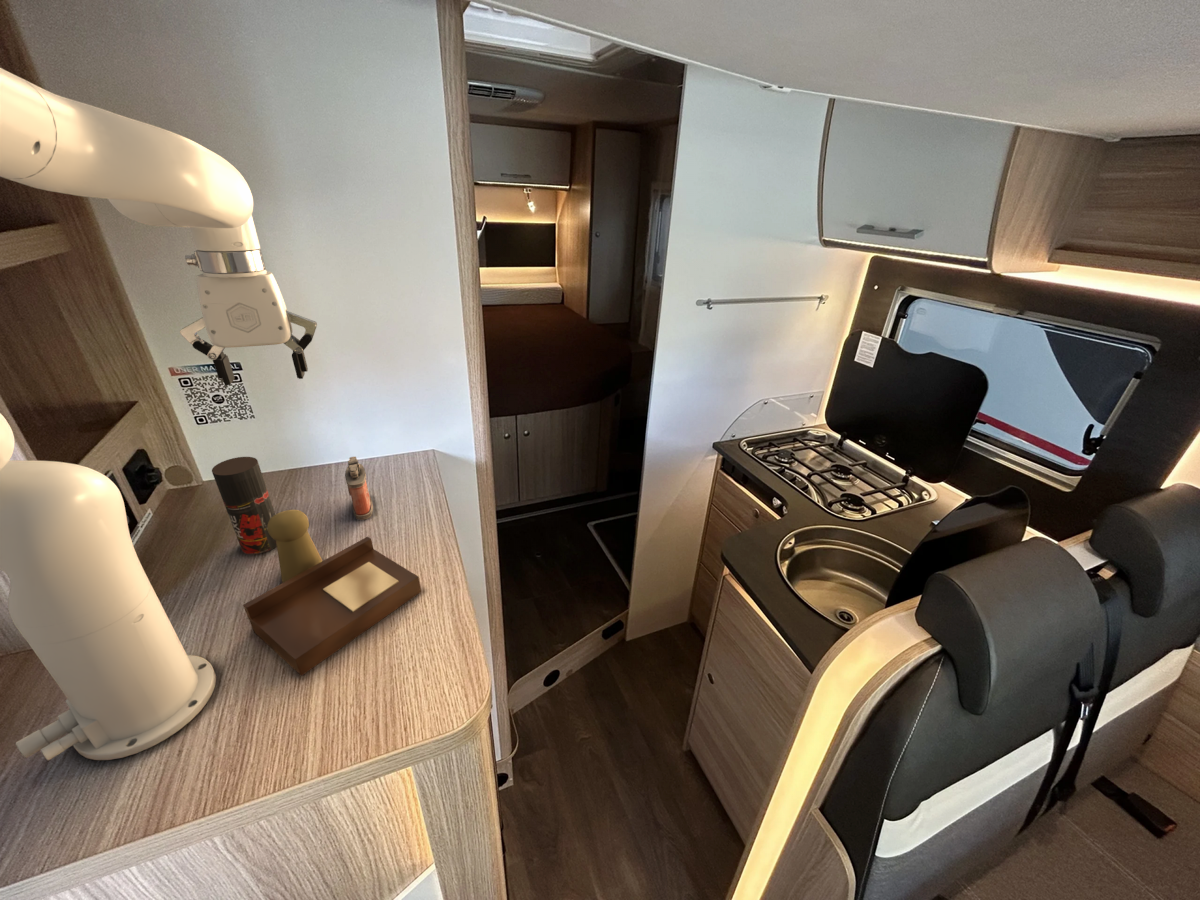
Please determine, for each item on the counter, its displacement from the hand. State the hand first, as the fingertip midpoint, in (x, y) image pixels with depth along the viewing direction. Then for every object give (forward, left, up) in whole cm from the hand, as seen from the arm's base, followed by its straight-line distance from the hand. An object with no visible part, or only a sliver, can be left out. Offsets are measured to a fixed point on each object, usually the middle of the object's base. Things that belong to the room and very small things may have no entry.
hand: (266, 379), depth 78 cm
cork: (-8, -13, -27) cm, 31 cm away
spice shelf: (-9, -25, -27) cm, 38 cm away
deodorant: (-8, 0, -27) cm, 28 cm away
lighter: (+8, -4, -27) cm, 28 cm away
